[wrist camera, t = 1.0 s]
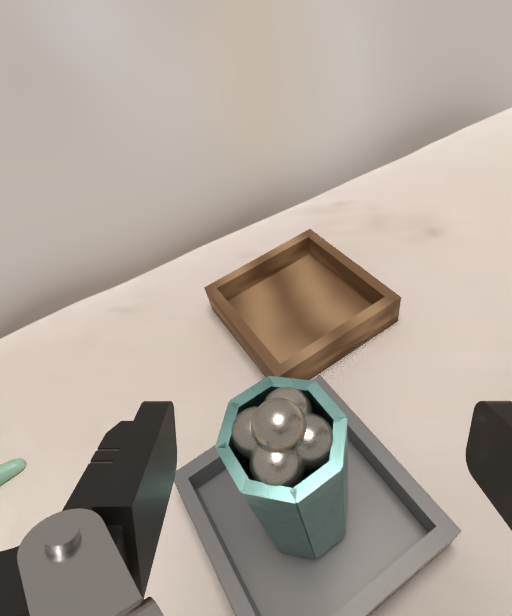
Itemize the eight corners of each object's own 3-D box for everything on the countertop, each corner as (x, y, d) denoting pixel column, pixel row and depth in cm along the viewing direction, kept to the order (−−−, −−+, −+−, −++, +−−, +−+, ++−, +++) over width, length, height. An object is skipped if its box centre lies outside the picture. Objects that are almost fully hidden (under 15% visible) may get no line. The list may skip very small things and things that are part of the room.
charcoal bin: (322, 395, 36) (319, 375, 33) (450, 543, 27) (461, 531, 25) (185, 489, 33) (170, 474, 30) (281, 692, 24) (272, 696, 21)
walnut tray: (312, 251, 49) (309, 228, 46) (397, 320, 40) (400, 297, 37) (212, 308, 45) (204, 287, 43) (282, 397, 37) (276, 377, 34)
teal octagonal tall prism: (312, 453, 32) (291, 336, 20) (364, 522, 28) (374, 426, 17) (249, 499, 30) (187, 401, 19) (295, 578, 27) (253, 517, 15)
